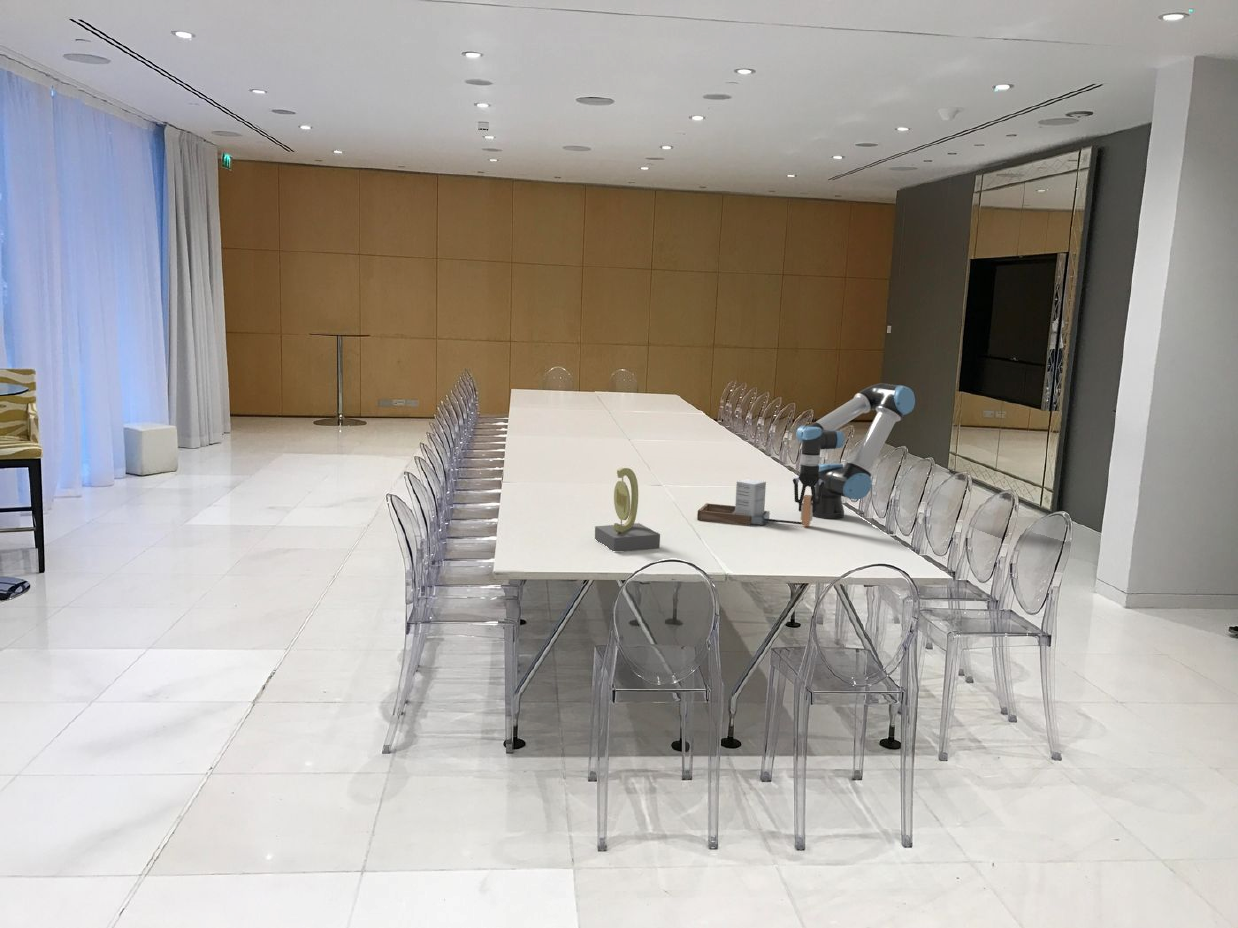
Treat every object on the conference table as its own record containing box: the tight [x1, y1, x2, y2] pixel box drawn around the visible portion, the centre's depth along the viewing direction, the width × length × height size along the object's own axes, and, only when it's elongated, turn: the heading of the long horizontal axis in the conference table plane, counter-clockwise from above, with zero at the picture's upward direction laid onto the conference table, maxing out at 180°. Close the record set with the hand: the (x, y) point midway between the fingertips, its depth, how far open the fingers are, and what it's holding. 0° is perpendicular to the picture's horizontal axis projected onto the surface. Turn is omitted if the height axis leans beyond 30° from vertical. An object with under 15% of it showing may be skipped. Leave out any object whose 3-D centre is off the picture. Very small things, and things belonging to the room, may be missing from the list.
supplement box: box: [734, 478, 767, 517], centre depth 423 cm, size 10×9×17 cm
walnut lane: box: [696, 502, 751, 526], centre depth 427 cm, size 17×22×4 cm
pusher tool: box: [732, 494, 812, 527], centre depth 420 cm, size 13×32×12 cm, turn 72°
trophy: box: [594, 467, 661, 552], centre depth 377 cm, size 19×19×30 cm
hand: (806, 519), depth 417 cm, fingers closed on pusher tool, 3 cm apart
